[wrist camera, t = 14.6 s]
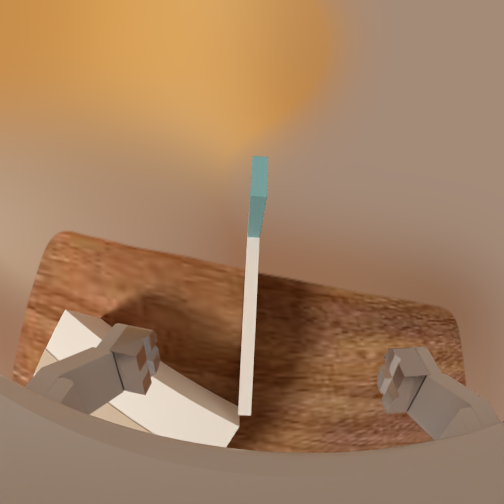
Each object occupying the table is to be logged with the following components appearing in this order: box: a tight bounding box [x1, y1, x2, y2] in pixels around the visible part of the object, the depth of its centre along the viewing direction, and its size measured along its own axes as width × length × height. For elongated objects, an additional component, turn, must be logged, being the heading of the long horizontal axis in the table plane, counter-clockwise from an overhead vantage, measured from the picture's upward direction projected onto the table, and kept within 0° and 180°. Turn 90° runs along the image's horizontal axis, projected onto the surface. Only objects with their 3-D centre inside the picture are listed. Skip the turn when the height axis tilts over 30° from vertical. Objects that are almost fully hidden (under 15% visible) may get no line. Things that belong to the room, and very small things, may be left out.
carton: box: [34, 309, 240, 447], centre depth 24 cm, size 18×12×8 cm, turn 61°
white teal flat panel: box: [238, 156, 268, 416], centre depth 23 cm, size 18×1×15 cm, turn 177°
